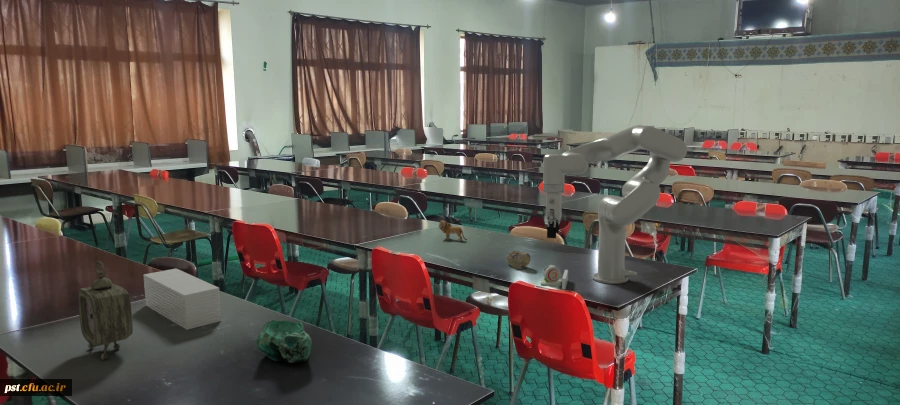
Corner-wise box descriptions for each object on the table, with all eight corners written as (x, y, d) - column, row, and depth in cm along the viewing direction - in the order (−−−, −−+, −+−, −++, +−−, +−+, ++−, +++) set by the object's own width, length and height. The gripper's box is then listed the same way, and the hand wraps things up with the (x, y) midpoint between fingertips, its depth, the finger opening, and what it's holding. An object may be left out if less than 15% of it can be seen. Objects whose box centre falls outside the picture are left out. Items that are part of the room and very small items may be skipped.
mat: (561, 281, 239) (561, 279, 239) (560, 286, 232) (560, 284, 232) (542, 279, 241) (542, 278, 241) (540, 285, 234) (540, 283, 234)
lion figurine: (436, 239, 310) (436, 221, 309) (441, 237, 315) (441, 219, 314) (465, 242, 304) (465, 223, 303) (469, 239, 309) (469, 221, 308)
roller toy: (541, 279, 238) (541, 264, 237) (558, 278, 239) (558, 263, 238) (545, 283, 234) (545, 267, 233) (562, 282, 235) (562, 266, 234)
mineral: (333, 359, 168) (332, 322, 166) (281, 379, 156) (279, 339, 155) (291, 342, 180) (290, 307, 178) (240, 358, 168) (238, 322, 167)
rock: (529, 257, 251) (534, 247, 260) (501, 255, 254) (506, 246, 263) (530, 273, 253) (534, 264, 262) (501, 271, 256) (507, 262, 266)
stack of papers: (146, 306, 212) (143, 274, 210) (178, 299, 220) (176, 268, 218) (186, 330, 190) (184, 295, 188) (221, 321, 197) (219, 287, 195)
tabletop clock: (82, 348, 175) (73, 259, 171) (118, 339, 182) (110, 253, 178) (99, 363, 165) (90, 269, 161) (136, 354, 172) (128, 262, 168)
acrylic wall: (567, 280, 240) (568, 270, 239) (565, 289, 228) (565, 278, 228) (564, 280, 240) (564, 269, 240) (561, 289, 229) (562, 278, 228)
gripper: (562, 192, 222) (561, 240, 225) (566, 185, 238) (565, 230, 241) (540, 191, 224) (539, 239, 226) (545, 185, 240) (545, 230, 243)
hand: (552, 235), depth 234 cm, fingers open, 9 cm apart
